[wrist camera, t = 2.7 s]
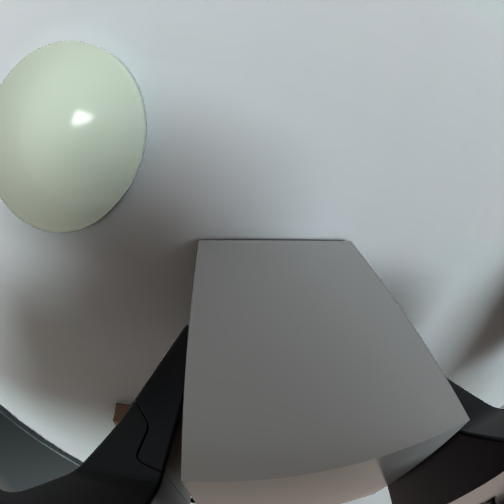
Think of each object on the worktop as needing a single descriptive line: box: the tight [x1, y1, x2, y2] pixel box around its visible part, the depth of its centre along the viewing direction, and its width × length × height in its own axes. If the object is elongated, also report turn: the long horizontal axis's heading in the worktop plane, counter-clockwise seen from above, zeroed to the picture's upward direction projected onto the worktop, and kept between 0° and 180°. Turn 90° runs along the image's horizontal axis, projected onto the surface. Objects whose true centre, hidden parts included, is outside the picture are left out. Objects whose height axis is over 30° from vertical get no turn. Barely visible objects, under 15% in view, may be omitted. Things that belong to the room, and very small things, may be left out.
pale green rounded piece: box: [0, 41, 147, 233], centre depth 7 cm, size 6×6×1 cm
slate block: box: [181, 240, 470, 504], centre depth 7 cm, size 5×5×7 cm
